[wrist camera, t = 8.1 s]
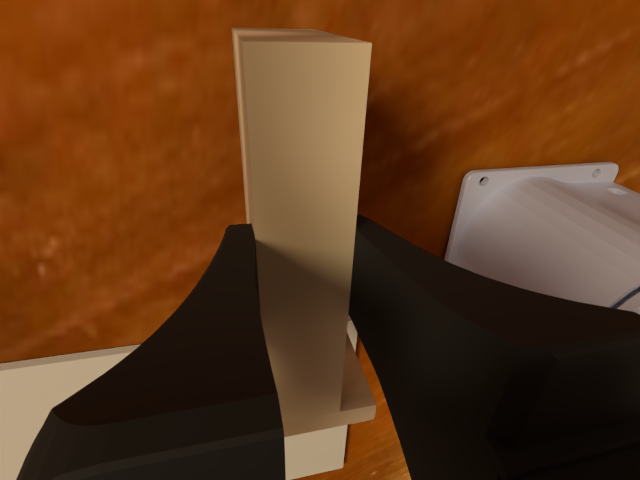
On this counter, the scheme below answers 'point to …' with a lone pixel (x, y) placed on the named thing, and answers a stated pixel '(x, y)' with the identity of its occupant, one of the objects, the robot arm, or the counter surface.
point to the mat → (82, 368)
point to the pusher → (305, 212)
